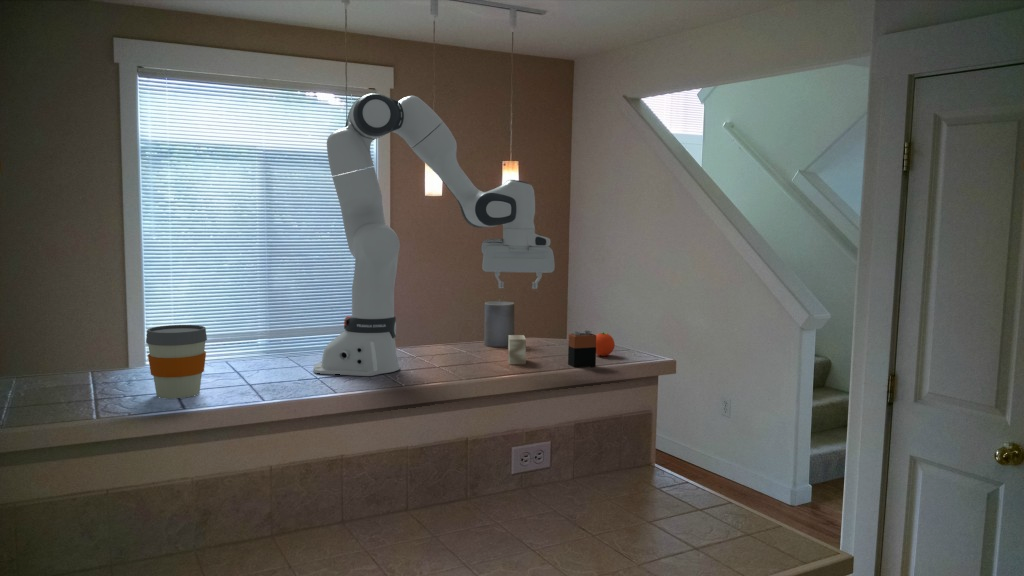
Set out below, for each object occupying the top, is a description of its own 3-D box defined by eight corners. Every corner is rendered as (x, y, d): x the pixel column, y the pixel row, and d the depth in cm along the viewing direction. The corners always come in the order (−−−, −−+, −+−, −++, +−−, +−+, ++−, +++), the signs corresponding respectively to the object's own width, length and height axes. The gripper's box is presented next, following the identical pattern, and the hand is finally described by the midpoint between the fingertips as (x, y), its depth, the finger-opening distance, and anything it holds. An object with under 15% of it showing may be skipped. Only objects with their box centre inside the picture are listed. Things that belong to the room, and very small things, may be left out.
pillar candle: (501, 341, 251) (501, 296, 249) (520, 345, 244) (520, 299, 242) (478, 344, 245) (478, 298, 243) (497, 348, 237) (497, 301, 236)
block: (509, 364, 211) (509, 339, 210) (508, 359, 218) (508, 335, 217) (525, 364, 211) (525, 339, 210) (523, 359, 218) (524, 335, 218)
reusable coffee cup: (139, 393, 172) (137, 327, 170) (194, 385, 180) (193, 323, 179) (159, 403, 163) (158, 334, 161) (217, 394, 172) (216, 329, 170)
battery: (596, 367, 211) (597, 331, 210) (574, 368, 208) (575, 332, 207) (588, 364, 215) (589, 329, 214) (567, 365, 212) (568, 330, 211)
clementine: (596, 352, 234) (597, 329, 233) (618, 354, 231) (619, 331, 230) (587, 356, 227) (588, 333, 226) (610, 358, 224) (610, 334, 223)
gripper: (481, 238, 207) (480, 289, 209) (555, 240, 208) (554, 289, 210) (481, 238, 214) (480, 286, 215) (553, 239, 215) (552, 287, 216)
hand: (517, 288), depth 212 cm, fingers open, 8 cm apart
